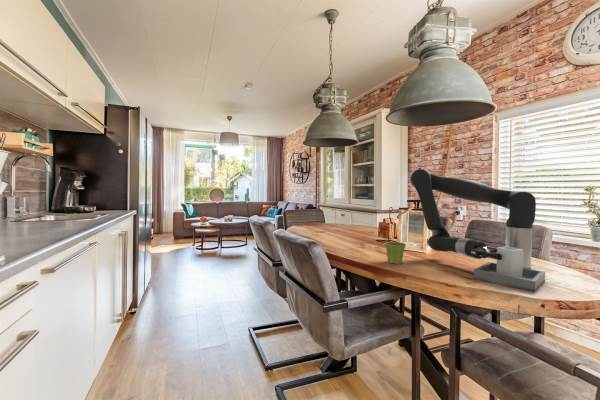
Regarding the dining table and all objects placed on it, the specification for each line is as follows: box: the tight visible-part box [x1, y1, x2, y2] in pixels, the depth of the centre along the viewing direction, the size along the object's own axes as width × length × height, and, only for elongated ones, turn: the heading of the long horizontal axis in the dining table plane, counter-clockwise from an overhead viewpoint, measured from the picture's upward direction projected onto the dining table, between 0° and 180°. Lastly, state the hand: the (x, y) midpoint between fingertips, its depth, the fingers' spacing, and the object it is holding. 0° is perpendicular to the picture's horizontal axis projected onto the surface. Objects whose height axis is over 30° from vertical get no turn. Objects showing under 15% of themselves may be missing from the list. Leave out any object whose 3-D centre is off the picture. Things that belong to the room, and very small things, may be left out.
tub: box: [496, 246, 523, 278], centre depth 105 cm, size 6×6×11 cm
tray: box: [473, 261, 546, 293], centre depth 106 cm, size 18×18×4 cm
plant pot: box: [383, 241, 407, 265], centre depth 130 cm, size 9×9×9 cm
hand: (509, 256), depth 106 cm, fingers open, 8 cm apart
